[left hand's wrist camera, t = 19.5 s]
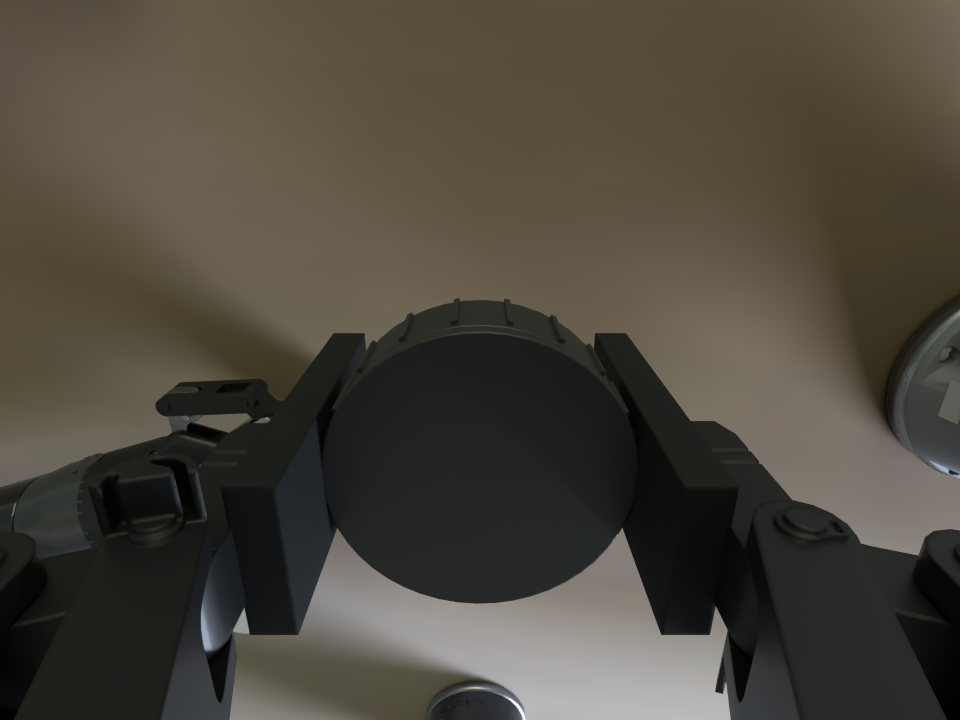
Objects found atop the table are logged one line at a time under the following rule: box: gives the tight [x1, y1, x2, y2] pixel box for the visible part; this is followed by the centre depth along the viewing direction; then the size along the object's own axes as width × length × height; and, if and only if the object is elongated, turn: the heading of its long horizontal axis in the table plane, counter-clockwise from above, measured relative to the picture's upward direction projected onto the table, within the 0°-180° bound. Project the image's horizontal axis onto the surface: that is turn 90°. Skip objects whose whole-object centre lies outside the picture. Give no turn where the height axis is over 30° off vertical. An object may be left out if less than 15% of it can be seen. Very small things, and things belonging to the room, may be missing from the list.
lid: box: [321, 298, 638, 603], centre depth 11 cm, size 6×6×2 cm
